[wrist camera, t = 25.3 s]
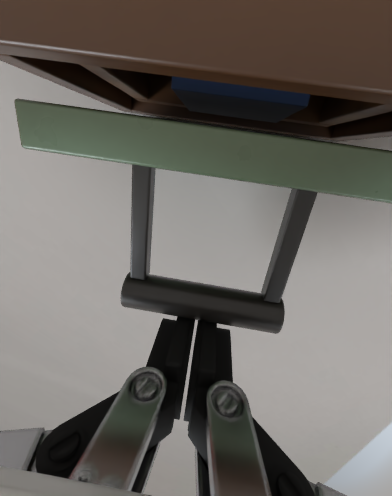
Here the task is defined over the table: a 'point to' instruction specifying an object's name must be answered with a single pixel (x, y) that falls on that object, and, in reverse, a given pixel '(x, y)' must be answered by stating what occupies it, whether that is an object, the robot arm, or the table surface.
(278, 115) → the block
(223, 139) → the drawer
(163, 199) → the table surface
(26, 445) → the robot arm
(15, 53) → the cabinet
